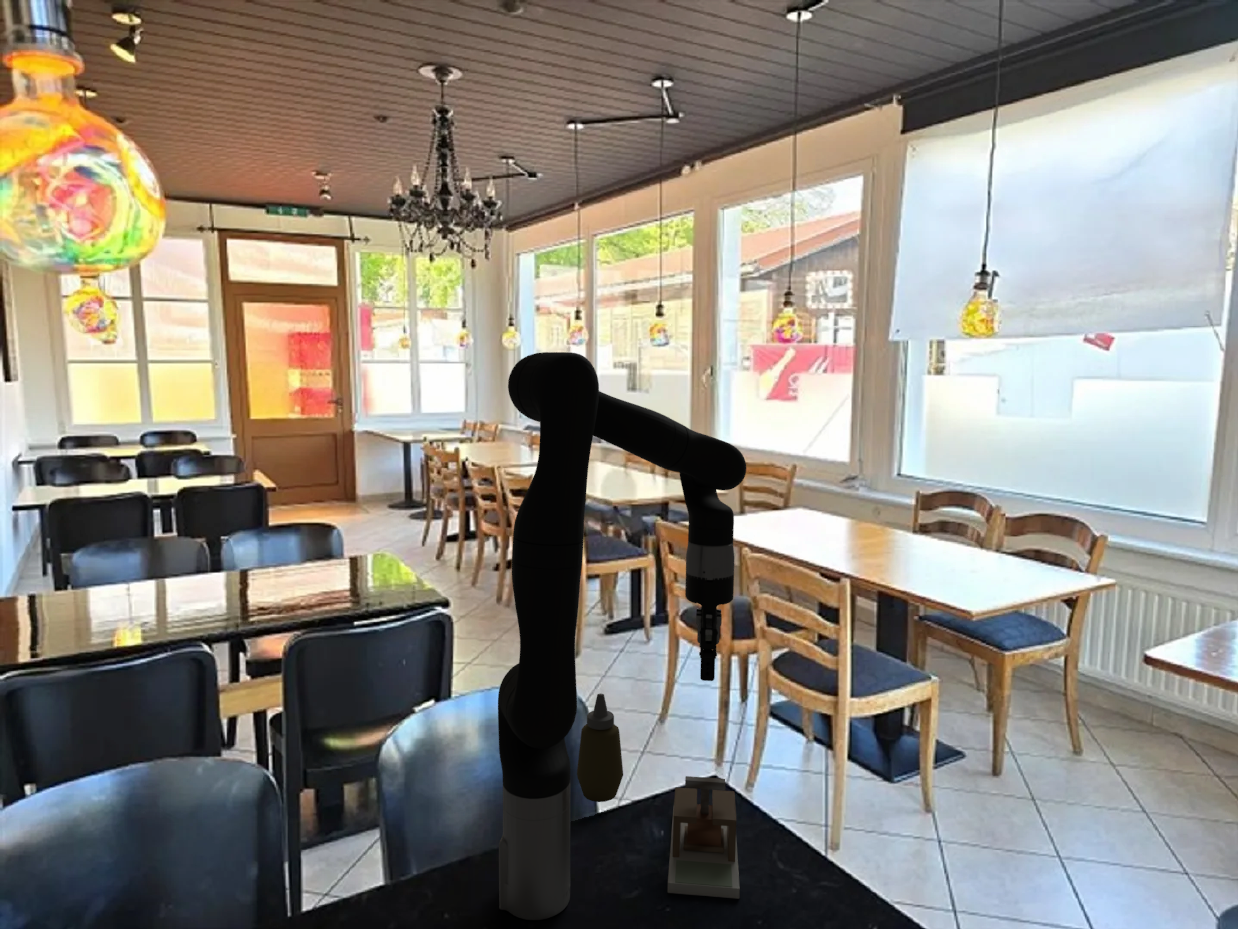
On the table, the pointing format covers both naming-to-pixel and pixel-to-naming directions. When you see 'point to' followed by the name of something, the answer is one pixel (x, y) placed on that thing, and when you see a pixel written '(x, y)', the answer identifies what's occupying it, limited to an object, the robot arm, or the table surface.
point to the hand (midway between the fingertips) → (707, 676)
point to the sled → (704, 818)
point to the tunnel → (700, 867)
